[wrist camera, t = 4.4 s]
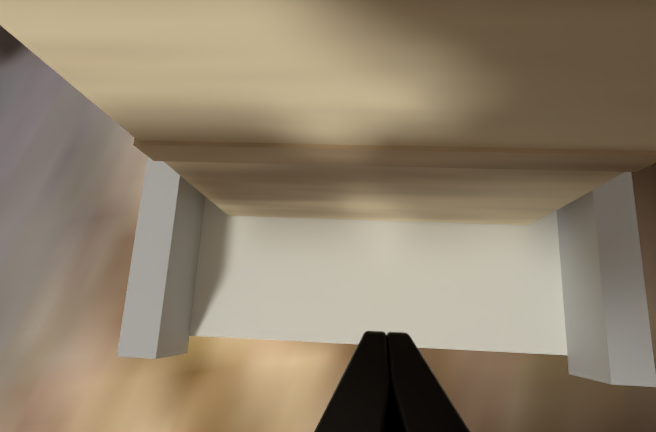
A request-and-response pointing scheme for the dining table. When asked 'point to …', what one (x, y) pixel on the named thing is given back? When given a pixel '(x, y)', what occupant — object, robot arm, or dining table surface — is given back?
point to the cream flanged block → (367, 98)
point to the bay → (393, 280)
